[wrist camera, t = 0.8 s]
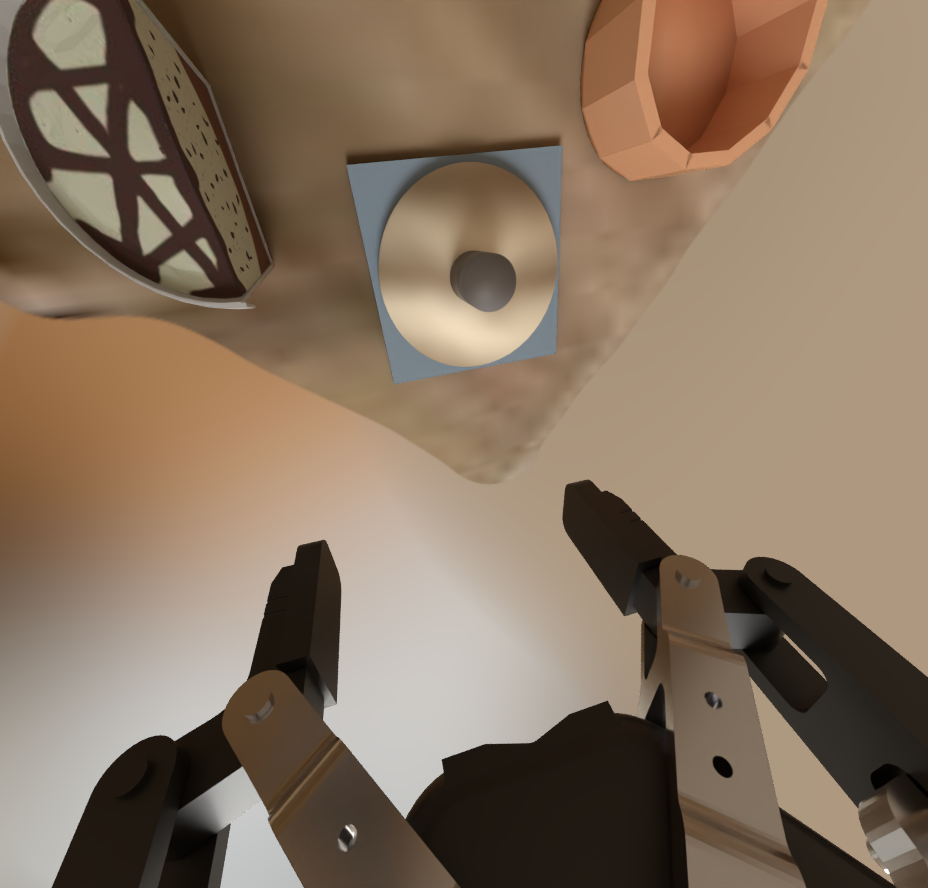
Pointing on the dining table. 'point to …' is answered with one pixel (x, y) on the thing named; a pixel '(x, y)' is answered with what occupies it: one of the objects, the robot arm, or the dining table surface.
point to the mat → (385, 187)
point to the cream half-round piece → (128, 148)
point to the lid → (467, 264)
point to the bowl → (691, 79)
